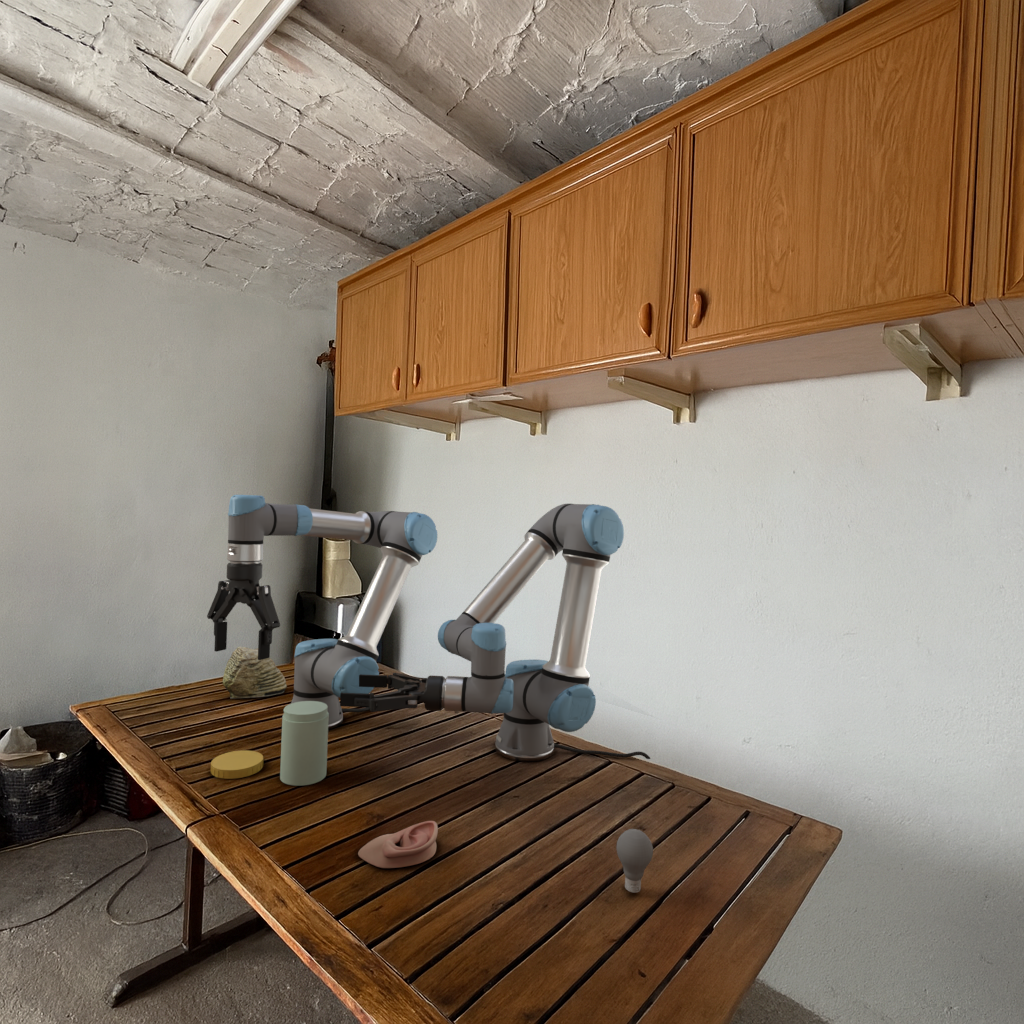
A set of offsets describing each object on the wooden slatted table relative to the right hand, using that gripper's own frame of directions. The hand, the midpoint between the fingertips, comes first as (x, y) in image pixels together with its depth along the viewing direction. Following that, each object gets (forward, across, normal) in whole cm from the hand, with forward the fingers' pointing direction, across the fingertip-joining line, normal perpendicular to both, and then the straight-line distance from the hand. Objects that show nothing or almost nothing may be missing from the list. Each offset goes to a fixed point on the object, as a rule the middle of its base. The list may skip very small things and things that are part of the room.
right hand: (350, 689), depth 142 cm
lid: (+26, +1, -18) cm, 32 cm away
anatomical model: (-18, -28, -20) cm, 39 cm away
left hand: (+26, +2, +6) cm, 27 cm away
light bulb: (-59, -34, -21) cm, 71 cm away
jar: (+10, 0, -20) cm, 23 cm away
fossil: (+47, +53, -20) cm, 73 cm away
